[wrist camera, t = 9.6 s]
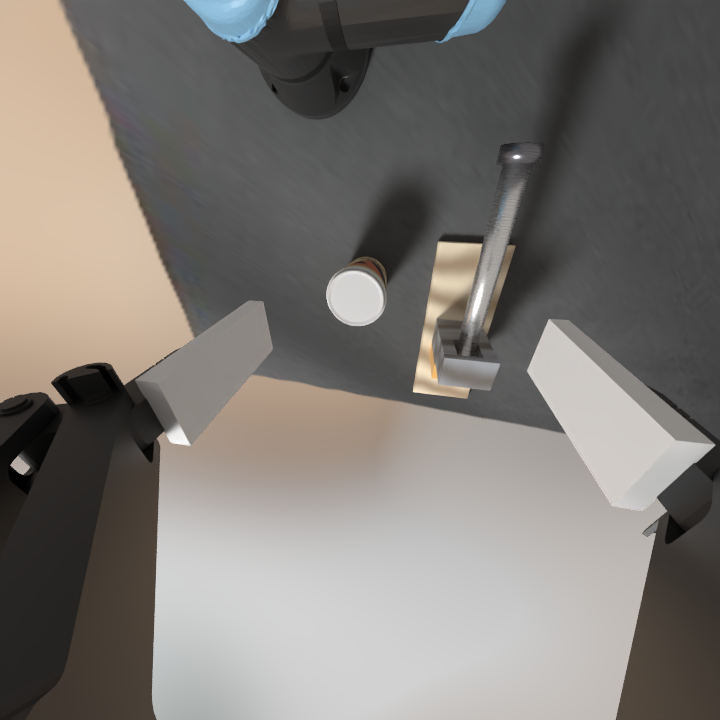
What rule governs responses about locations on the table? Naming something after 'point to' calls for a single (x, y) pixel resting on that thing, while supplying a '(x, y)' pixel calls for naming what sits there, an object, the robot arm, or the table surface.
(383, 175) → the table surface
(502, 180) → the shaft
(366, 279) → the coffee cup
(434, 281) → the bearing fixture
